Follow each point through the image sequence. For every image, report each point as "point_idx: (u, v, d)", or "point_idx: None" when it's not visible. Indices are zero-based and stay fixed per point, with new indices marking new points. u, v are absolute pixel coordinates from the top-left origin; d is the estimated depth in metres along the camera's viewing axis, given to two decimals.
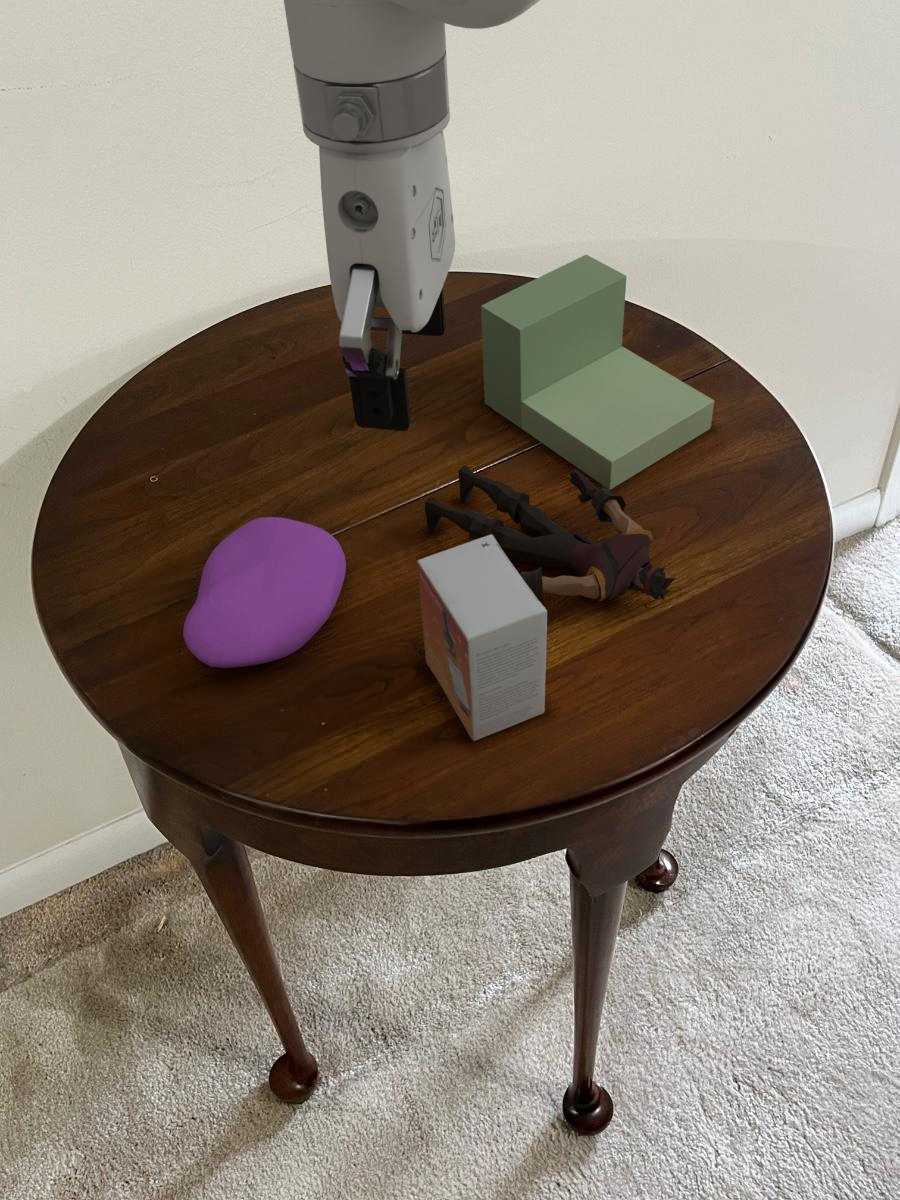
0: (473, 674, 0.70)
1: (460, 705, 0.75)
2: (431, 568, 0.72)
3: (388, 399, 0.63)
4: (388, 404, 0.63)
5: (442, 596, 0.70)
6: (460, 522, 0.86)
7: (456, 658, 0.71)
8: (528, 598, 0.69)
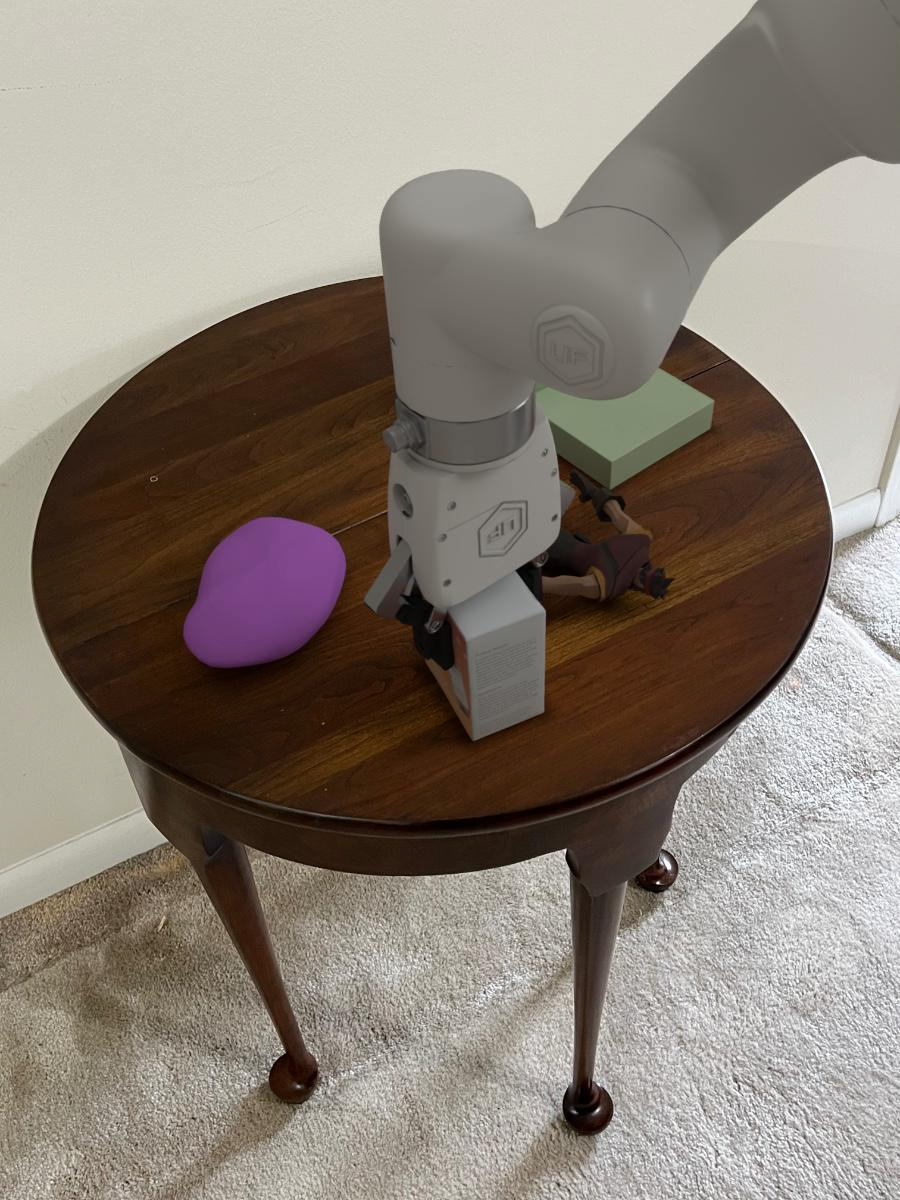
0: (472, 674, 0.70)
1: (459, 705, 0.75)
2: None
3: (428, 643, 0.70)
4: (428, 646, 0.70)
5: None
6: None
7: (455, 659, 0.71)
8: (526, 598, 0.69)
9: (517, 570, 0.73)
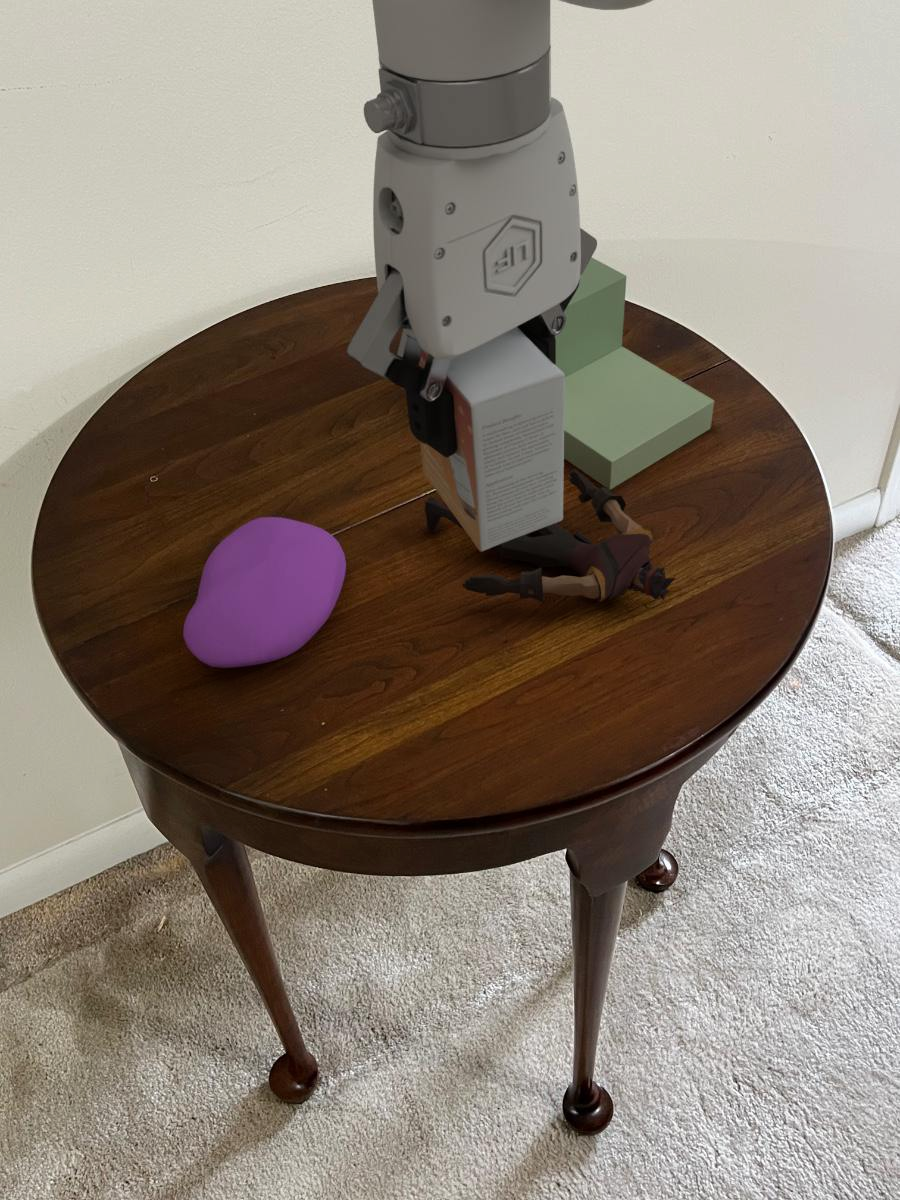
0: (478, 454, 0.59)
1: (464, 508, 0.64)
2: None
3: (426, 418, 0.59)
4: (425, 423, 0.59)
5: None
6: None
7: (458, 442, 0.60)
8: (541, 362, 0.59)
9: None
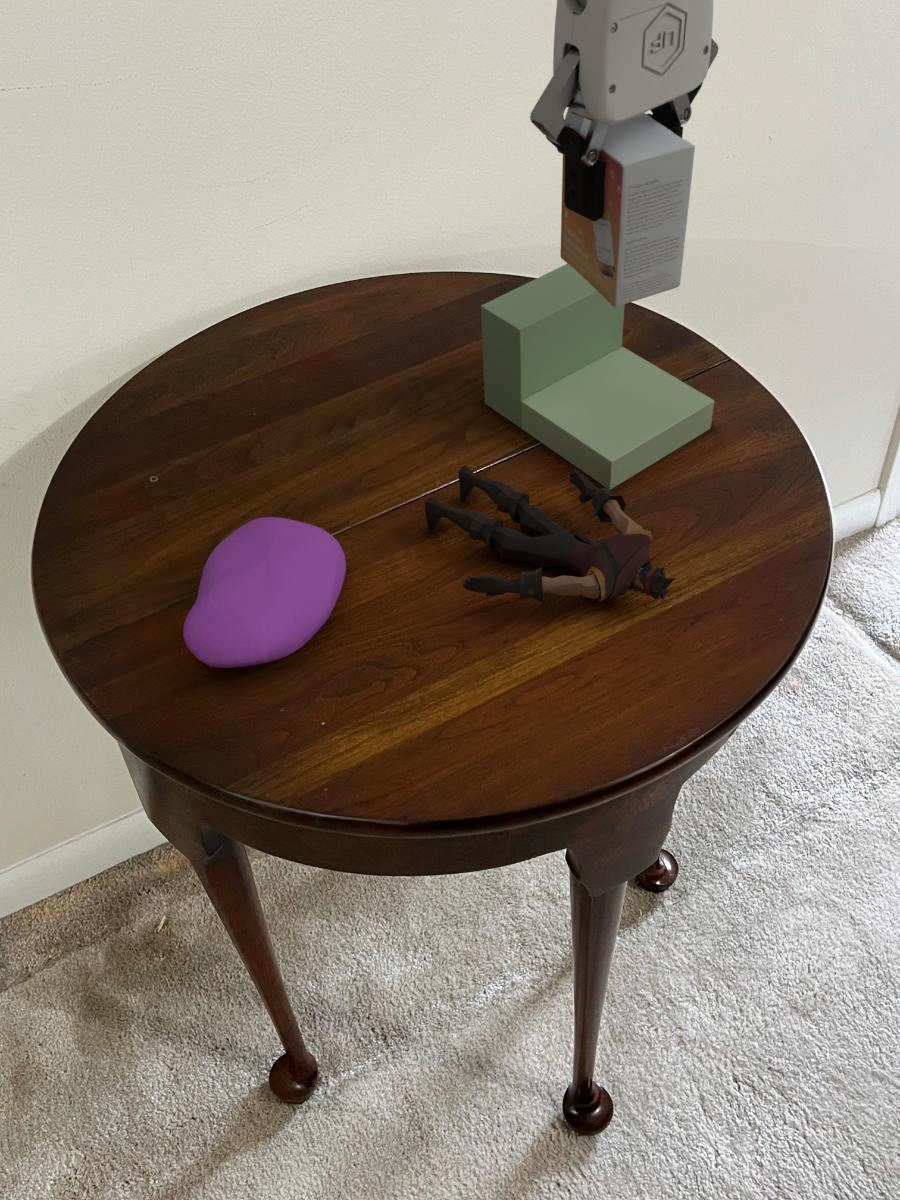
0: (623, 213, 0.74)
1: (602, 271, 0.78)
2: None
3: (582, 184, 0.74)
4: (581, 188, 0.74)
5: None
6: (460, 522, 0.86)
7: (604, 206, 0.75)
8: (675, 138, 0.73)
9: None
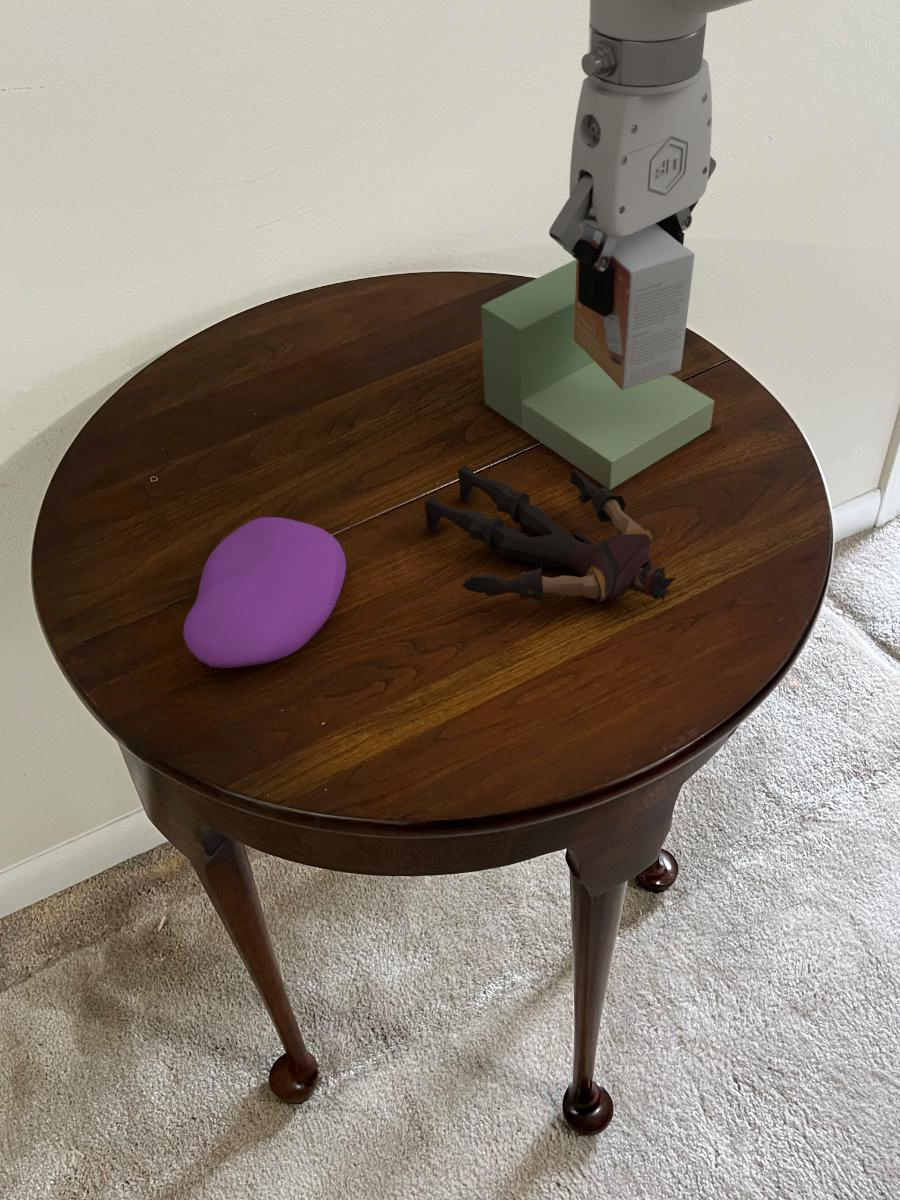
0: (631, 311, 0.83)
1: (611, 358, 0.88)
2: None
3: (594, 286, 0.83)
4: (593, 290, 0.83)
5: None
6: (460, 522, 0.86)
7: (614, 304, 0.84)
8: (677, 246, 0.83)
9: None
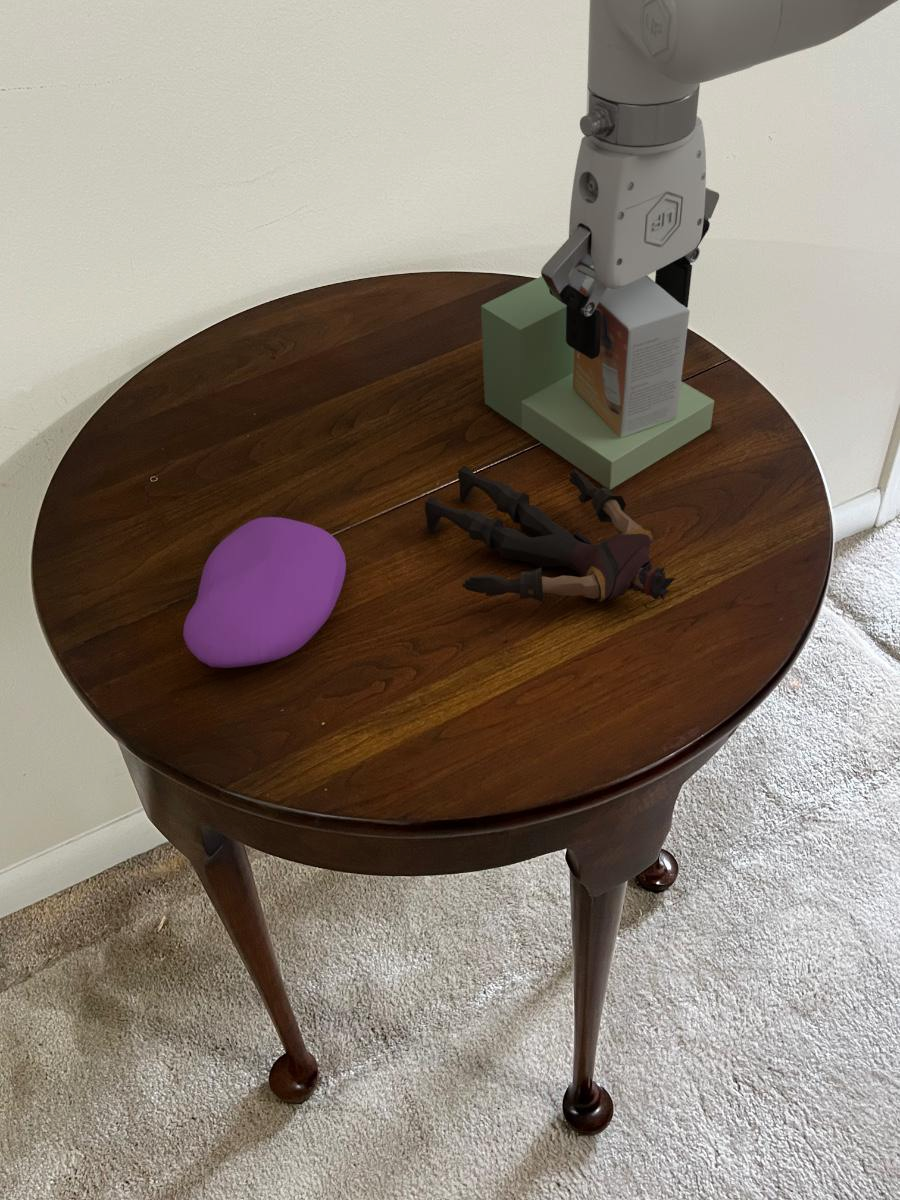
0: (628, 365, 0.86)
1: (609, 407, 0.91)
2: None
3: (581, 329, 0.85)
4: (580, 333, 0.85)
5: (602, 303, 0.86)
6: (460, 522, 0.86)
7: (612, 357, 0.88)
8: (673, 302, 0.86)
9: (672, 267, 0.88)
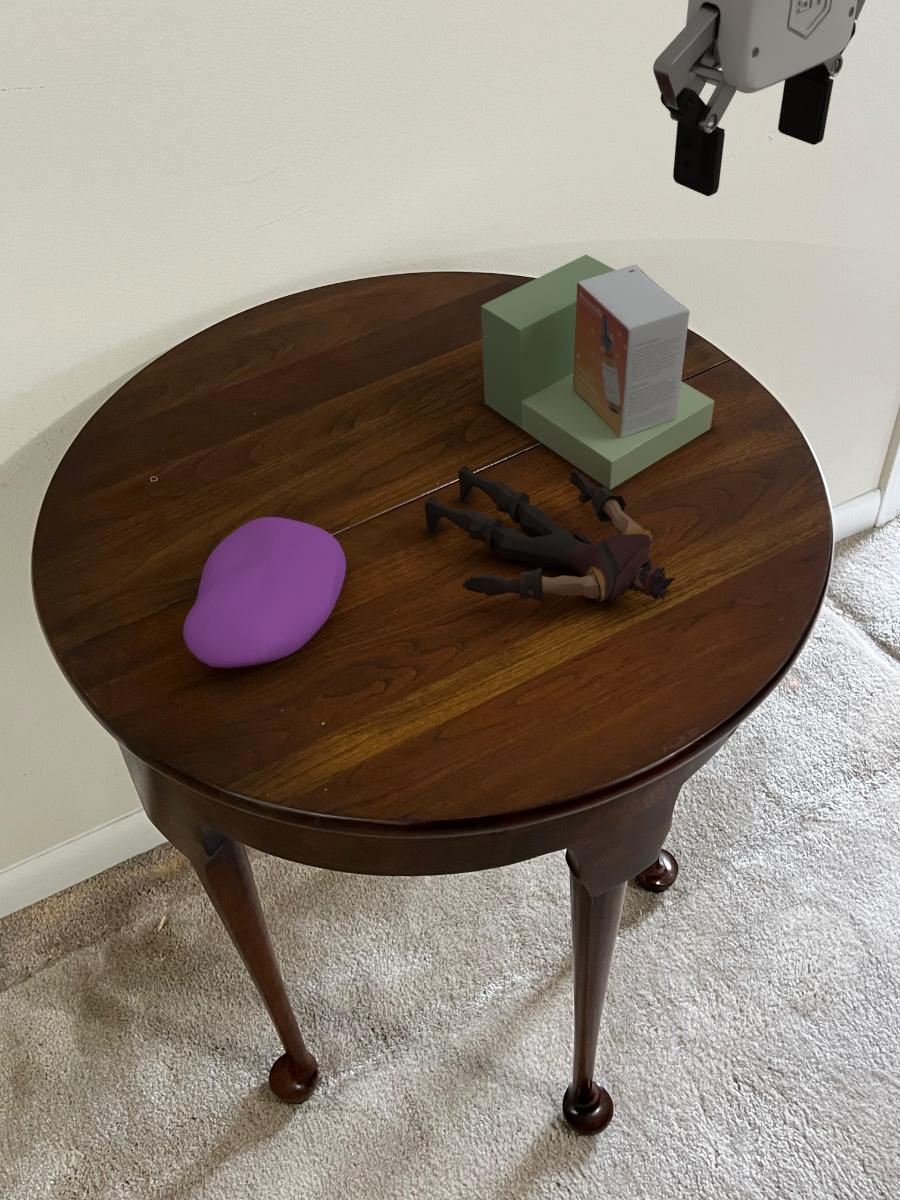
0: (628, 365, 0.86)
1: (609, 407, 0.91)
2: (590, 286, 0.88)
3: (697, 154, 0.66)
4: (696, 159, 0.66)
5: (602, 303, 0.86)
6: (460, 522, 0.86)
7: (612, 357, 0.88)
8: (673, 302, 0.86)
9: (807, 84, 0.70)
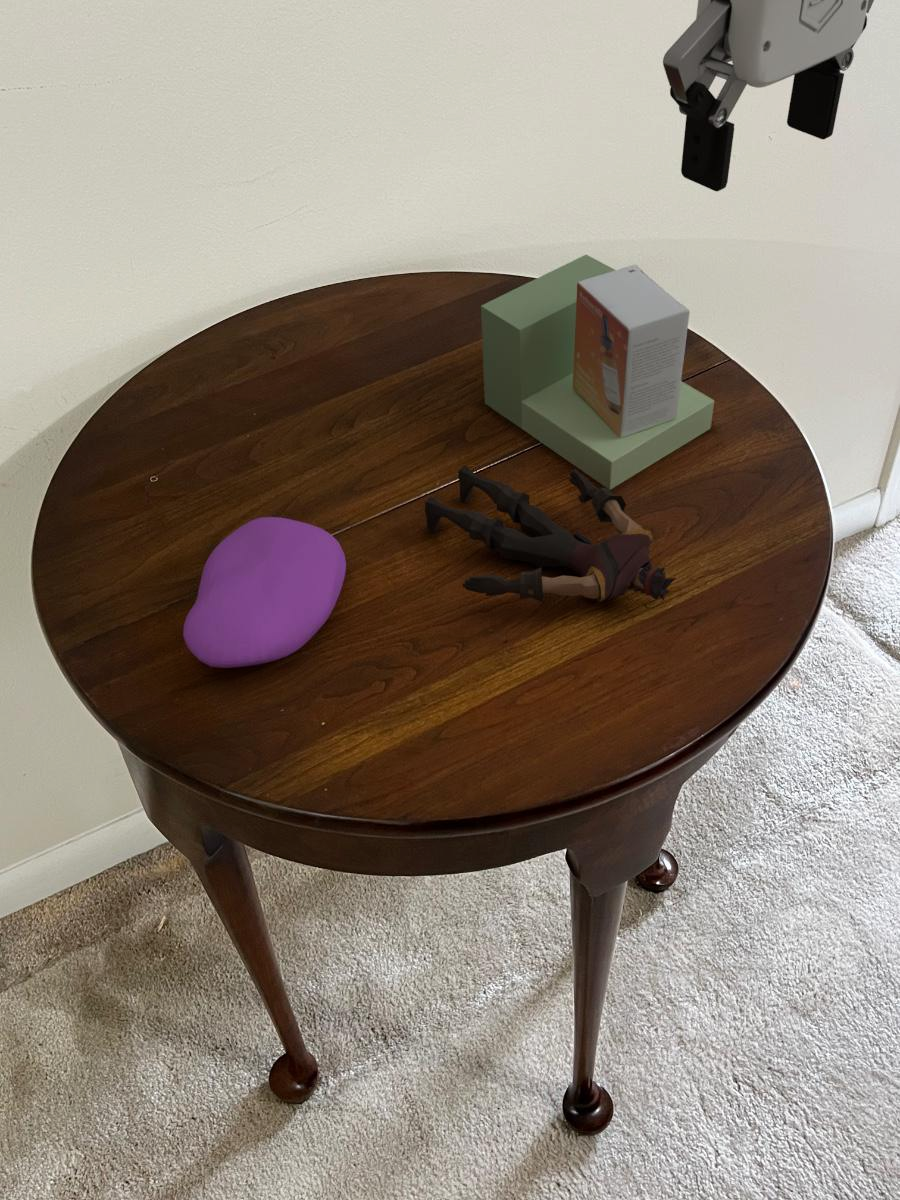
0: (628, 365, 0.86)
1: (610, 407, 0.91)
2: (590, 286, 0.88)
3: (706, 148, 0.65)
4: (705, 154, 0.65)
5: (602, 303, 0.86)
6: (460, 522, 0.86)
7: (612, 357, 0.88)
8: (673, 303, 0.86)
9: (817, 78, 0.69)
